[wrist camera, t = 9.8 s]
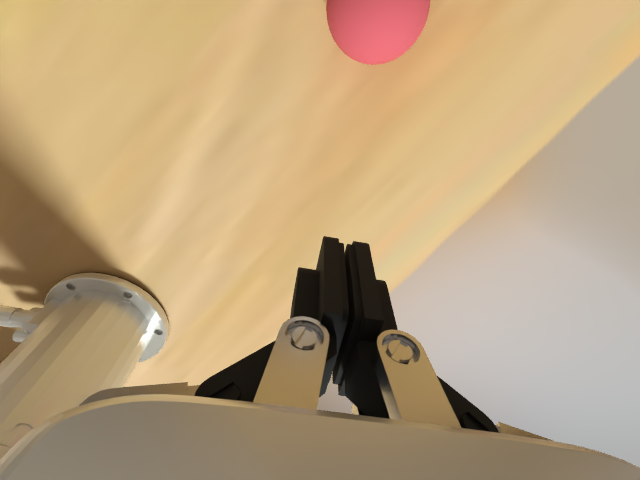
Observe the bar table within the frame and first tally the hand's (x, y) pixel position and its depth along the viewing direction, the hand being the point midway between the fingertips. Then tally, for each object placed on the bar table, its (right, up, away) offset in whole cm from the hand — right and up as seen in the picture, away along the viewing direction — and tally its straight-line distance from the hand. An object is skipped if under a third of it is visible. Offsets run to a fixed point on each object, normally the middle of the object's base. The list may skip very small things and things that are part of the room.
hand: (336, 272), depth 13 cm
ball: (+3, +15, +7) cm, 17 cm away
